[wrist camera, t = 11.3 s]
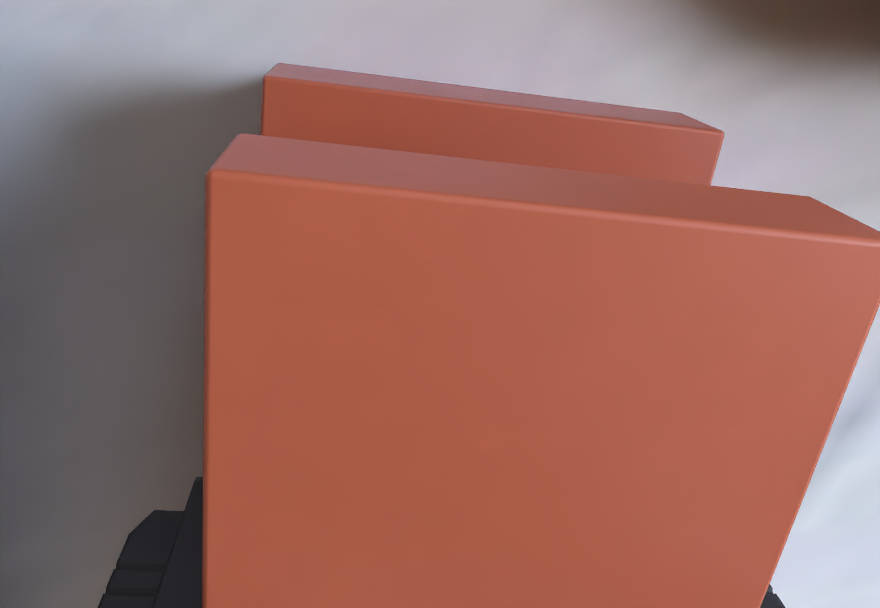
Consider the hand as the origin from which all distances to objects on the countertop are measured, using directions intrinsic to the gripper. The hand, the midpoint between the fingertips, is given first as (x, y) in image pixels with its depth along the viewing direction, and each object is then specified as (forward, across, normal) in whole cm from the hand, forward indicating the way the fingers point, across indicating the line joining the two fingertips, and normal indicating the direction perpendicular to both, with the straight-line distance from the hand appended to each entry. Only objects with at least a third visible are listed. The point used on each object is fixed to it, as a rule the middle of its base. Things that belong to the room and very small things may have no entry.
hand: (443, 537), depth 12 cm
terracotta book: (-1, 0, 0) cm, 1 cm away
